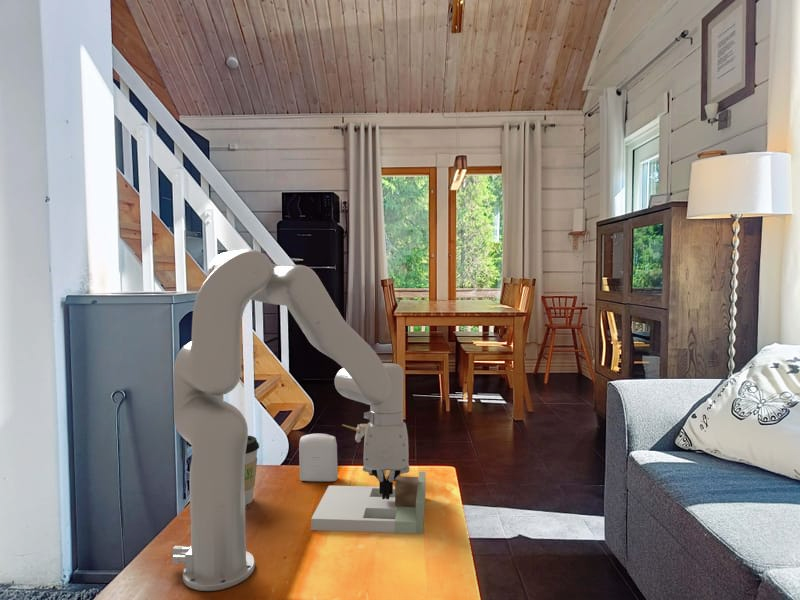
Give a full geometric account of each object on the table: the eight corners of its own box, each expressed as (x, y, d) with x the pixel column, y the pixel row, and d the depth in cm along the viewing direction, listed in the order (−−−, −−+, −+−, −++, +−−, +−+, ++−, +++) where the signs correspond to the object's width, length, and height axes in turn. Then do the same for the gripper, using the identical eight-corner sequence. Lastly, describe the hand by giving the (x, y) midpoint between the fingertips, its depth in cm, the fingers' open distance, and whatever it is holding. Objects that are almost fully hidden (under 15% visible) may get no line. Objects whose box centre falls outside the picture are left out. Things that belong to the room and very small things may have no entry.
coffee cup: (209, 507, 125) (207, 444, 124) (234, 491, 134) (233, 433, 133) (244, 513, 121) (243, 448, 121) (268, 496, 131) (267, 436, 130)
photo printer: (297, 482, 140) (296, 436, 139) (302, 475, 144) (301, 431, 143) (335, 483, 139) (335, 437, 138) (339, 477, 143) (338, 432, 142)
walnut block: (395, 506, 119) (395, 484, 118) (397, 497, 124) (396, 476, 123) (417, 507, 118) (417, 485, 118) (418, 498, 123) (418, 477, 123)
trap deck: (311, 530, 113) (311, 500, 113) (329, 495, 131) (328, 469, 131) (423, 533, 111) (422, 503, 111) (425, 497, 129) (425, 471, 129)
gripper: (351, 421, 117) (351, 502, 118) (419, 423, 116) (418, 504, 117) (356, 413, 124) (356, 489, 125) (419, 414, 124) (418, 491, 124)
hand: (386, 496), depth 121 cm, fingers closed
